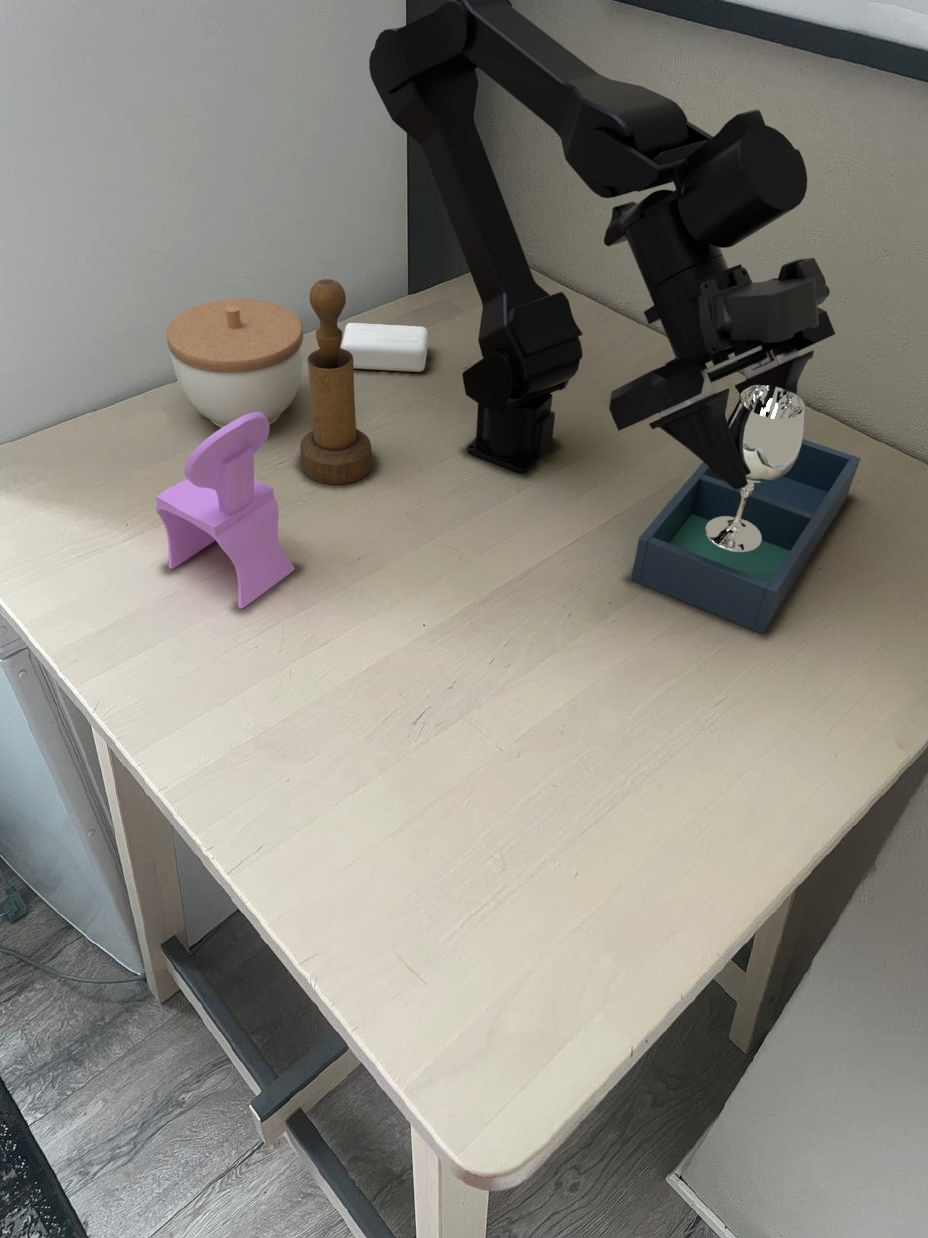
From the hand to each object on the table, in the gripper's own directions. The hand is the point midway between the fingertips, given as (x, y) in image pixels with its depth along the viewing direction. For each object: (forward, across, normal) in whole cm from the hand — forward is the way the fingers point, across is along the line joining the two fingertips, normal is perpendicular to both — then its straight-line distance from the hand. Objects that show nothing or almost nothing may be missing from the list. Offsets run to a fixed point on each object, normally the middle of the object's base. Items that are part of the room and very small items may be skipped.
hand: (767, 474), depth 76 cm
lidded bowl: (-24, -18, +44) cm, 53 cm away
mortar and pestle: (-15, -15, +34) cm, 40 cm away
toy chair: (-10, -31, +29) cm, 43 cm away
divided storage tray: (+6, +8, +12) cm, 16 cm away
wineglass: (+4, 0, +6) cm, 7 cm away
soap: (-25, 0, +44) cm, 51 cm away
